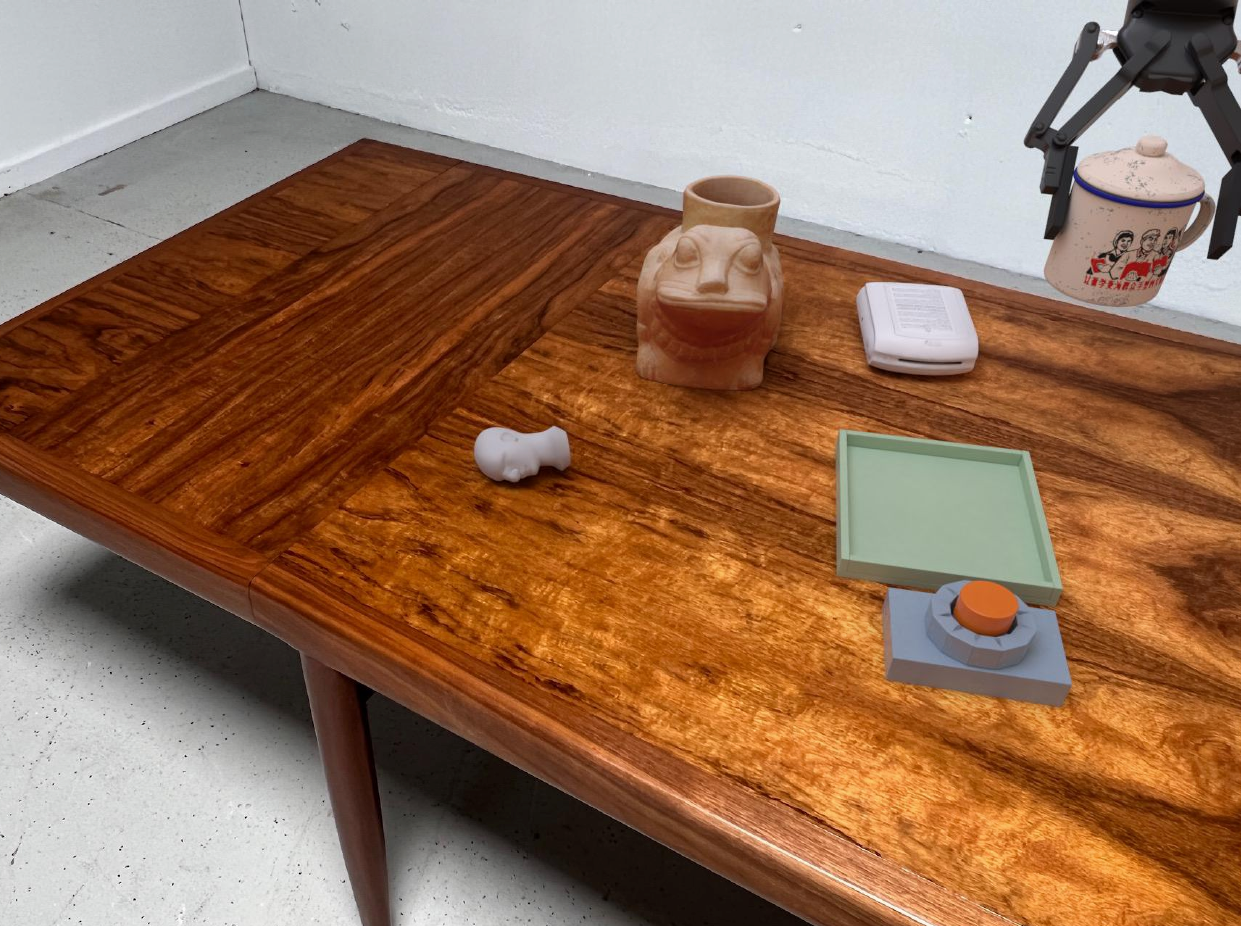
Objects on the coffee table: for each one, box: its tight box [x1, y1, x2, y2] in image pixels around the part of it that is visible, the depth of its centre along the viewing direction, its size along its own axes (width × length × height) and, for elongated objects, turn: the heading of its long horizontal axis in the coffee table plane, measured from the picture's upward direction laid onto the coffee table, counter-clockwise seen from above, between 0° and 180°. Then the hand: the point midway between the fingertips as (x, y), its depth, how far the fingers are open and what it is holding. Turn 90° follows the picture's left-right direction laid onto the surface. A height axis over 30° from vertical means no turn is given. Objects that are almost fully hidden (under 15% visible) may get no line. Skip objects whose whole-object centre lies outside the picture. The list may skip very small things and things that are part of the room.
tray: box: [834, 428, 1064, 608], centre depth 84 cm, size 15×17×2 cm
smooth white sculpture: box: [473, 425, 572, 483], centre depth 88 cm, size 4×8×5 cm
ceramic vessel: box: [635, 174, 785, 391], centre depth 101 cm, size 14×26×15 cm, turn 167°
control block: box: [881, 580, 1073, 708], centre depth 72 cm, size 11×7×4 cm, turn 77°
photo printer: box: [855, 281, 979, 376], centre depth 103 cm, size 10×4×12 cm
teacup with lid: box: [1043, 135, 1217, 308], centre depth 83 cm, size 12×9×12 cm
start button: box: [954, 581, 1019, 637], centre depth 70 cm, size 4×4×2 cm
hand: (1134, 243), depth 83 cm, fingers closed on teacup with lid, 11 cm apart
